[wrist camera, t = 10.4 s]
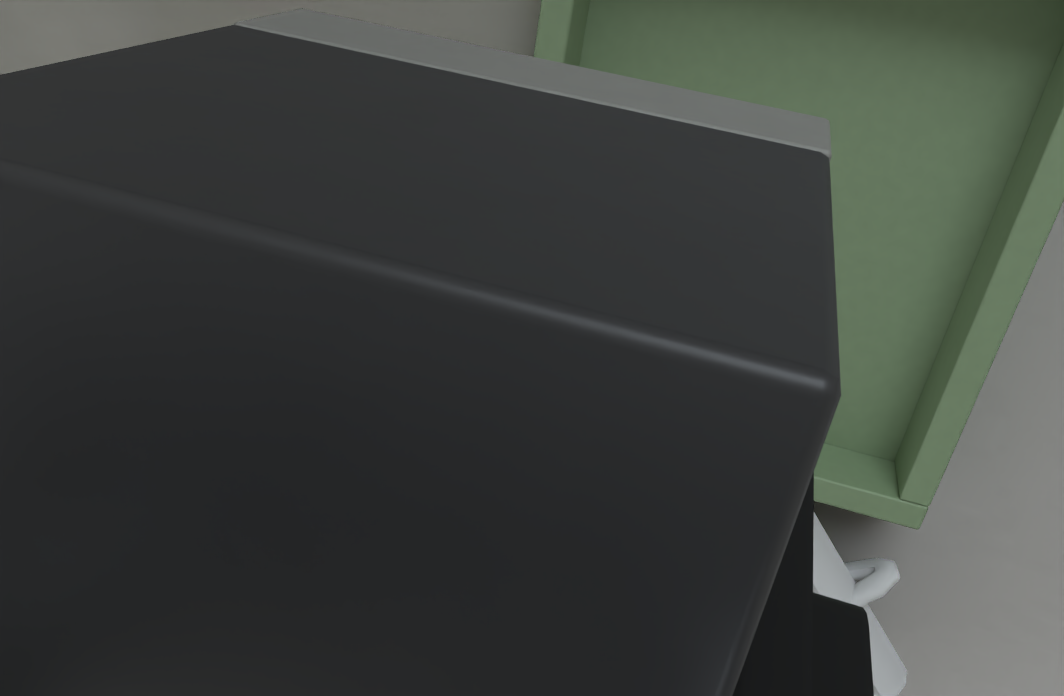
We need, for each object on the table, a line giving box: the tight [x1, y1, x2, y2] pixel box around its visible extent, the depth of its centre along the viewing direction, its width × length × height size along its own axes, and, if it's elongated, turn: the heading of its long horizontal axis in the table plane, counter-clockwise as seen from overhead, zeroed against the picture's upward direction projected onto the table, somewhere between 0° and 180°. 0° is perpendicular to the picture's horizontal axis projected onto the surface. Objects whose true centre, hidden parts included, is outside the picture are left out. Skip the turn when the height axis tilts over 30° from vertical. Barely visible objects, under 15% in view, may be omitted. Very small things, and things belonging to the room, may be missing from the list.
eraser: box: [0, 8, 841, 696], centre depth 8 cm, size 9×5×5 cm, turn 171°
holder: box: [534, 0, 1064, 529], centre depth 24 cm, size 15×13×3 cm
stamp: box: [813, 513, 908, 696], centre depth 26 cm, size 9×7×8 cm
